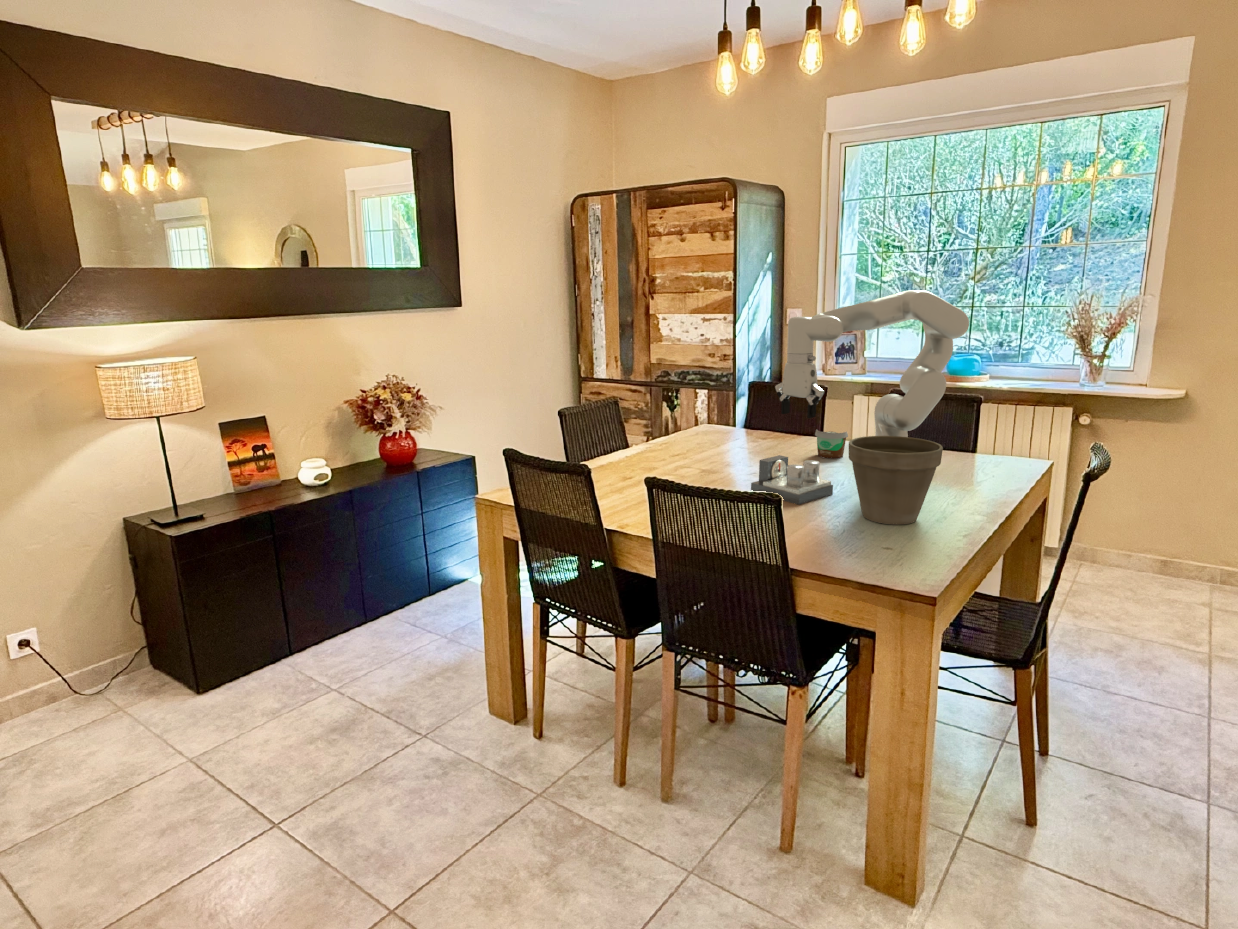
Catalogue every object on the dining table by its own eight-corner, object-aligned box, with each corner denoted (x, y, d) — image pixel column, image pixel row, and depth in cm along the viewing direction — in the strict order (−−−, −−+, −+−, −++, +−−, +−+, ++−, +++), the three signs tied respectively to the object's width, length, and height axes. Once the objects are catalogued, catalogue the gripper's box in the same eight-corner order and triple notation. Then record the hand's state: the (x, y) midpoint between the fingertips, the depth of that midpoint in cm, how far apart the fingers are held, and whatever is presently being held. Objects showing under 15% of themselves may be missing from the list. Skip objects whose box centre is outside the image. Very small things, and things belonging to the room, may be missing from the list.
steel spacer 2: (822, 480, 237) (823, 462, 236) (812, 483, 234) (813, 465, 233) (809, 477, 241) (810, 459, 240) (799, 480, 238) (800, 462, 237)
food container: (810, 457, 285) (811, 431, 283) (814, 454, 291) (815, 428, 288) (843, 460, 280) (845, 434, 277) (846, 457, 285) (848, 431, 283)
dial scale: (832, 494, 237) (834, 463, 235) (798, 504, 227) (800, 472, 225) (784, 482, 252) (785, 453, 249) (750, 491, 241) (751, 461, 239)
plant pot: (864, 499, 231) (868, 430, 226) (947, 514, 216) (954, 440, 211) (830, 520, 213) (834, 445, 207) (918, 537, 197) (925, 457, 192)
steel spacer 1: (806, 485, 233) (807, 466, 231) (796, 488, 229) (797, 469, 228) (793, 482, 236) (794, 463, 235) (783, 485, 233) (783, 466, 232)
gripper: (832, 359, 219) (829, 417, 223) (784, 356, 232) (783, 410, 236) (816, 362, 215) (814, 420, 219) (769, 358, 228) (767, 413, 232)
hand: (798, 415), depth 228 cm, fingers open, 9 cm apart
